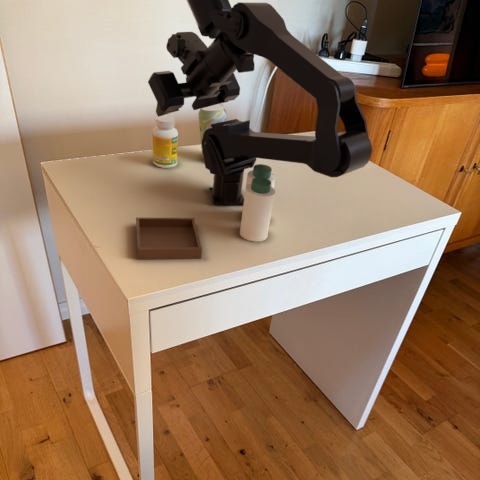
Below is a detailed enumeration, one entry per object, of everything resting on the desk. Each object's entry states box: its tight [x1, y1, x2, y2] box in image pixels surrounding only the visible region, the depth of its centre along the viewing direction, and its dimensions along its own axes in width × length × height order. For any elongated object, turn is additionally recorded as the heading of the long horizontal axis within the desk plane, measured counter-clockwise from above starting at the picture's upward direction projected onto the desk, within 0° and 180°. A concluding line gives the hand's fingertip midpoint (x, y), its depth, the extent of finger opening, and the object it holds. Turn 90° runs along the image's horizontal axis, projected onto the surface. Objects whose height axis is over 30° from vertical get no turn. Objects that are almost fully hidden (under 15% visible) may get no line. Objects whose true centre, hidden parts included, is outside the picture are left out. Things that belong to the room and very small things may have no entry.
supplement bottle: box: [151, 115, 179, 169], centre depth 97 cm, size 5×5×10 cm
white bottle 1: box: [245, 163, 276, 189], centre depth 83 cm, size 5×5×10 cm
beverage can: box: [198, 103, 228, 159], centre depth 101 cm, size 6×7×12 cm
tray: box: [135, 217, 203, 260], centre depth 76 cm, size 10×10×2 cm
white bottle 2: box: [239, 177, 276, 243], centre depth 78 cm, size 5×5×10 cm
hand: (175, 110), depth 91 cm, fingers open, 9 cm apart
